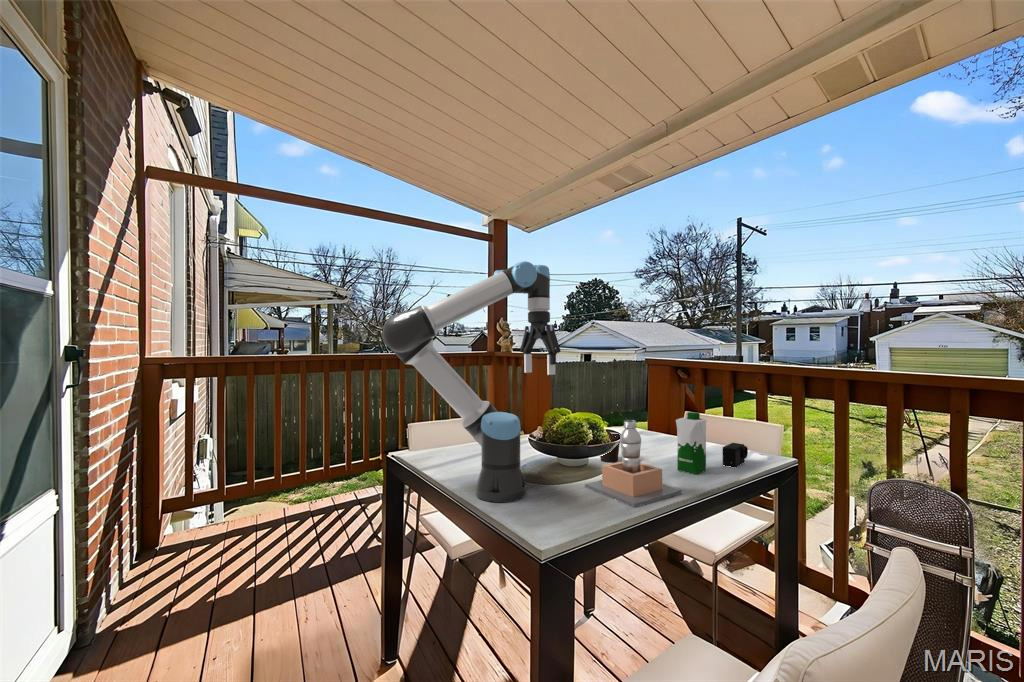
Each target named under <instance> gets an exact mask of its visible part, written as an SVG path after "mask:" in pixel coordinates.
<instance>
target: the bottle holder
mask: <svg viewBox="0 0 1024 682" xmlns="http://www.w3.org/2000/svg"><path fill="white" fill-rule="evenodd" d="M640 467H641V472H638V473H633V474H632V473H629V472H626V471H623V470H622V461H618V462H615V463H607V464H604V465H601V479H600V480H596V481H592V482H588V483H584V488H586V489H588V490H590V491H593V492H596V493H598V494H600V493H601V495H603V496H605V495H606V497H607V498H610V499H613V500H615V499H616V501H617V500H618V502H620V501H621V503H622V502H623V503H622V504H625V503H626V504H625V505H627V504H628V505H627V506H630V507H632V508H636V507H640V505H641V506H643V504H644V505H648V504H650V502H651V503H654V502H653V501H655V502H658V501H661V500H664V499H669V498H671V497H675V496H678V495H679V496H680V495H681V494H682V489H679V488H675V487H673V486H669V485H668V484H663V468H661V467H657V466H653V465H650V464H647V463H643V462H640ZM647 503H648V504H647Z"/></svg>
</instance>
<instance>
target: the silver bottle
mask: <svg viewBox="0 0 1024 682" xmlns="http://www.w3.org/2000/svg"><path fill="white" fill-rule="evenodd" d="M623 428H624V429H623V431H622V432H621V433H620V449H621V462H622V470H623V471H626V472H629V473H632V474H633V473H638V472H641V467H640V463H641V446H642V437H641V435H640V433H639V431H638V430H637V428H638V427H637V420H634V419H626V420H624V421H623Z"/></svg>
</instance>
